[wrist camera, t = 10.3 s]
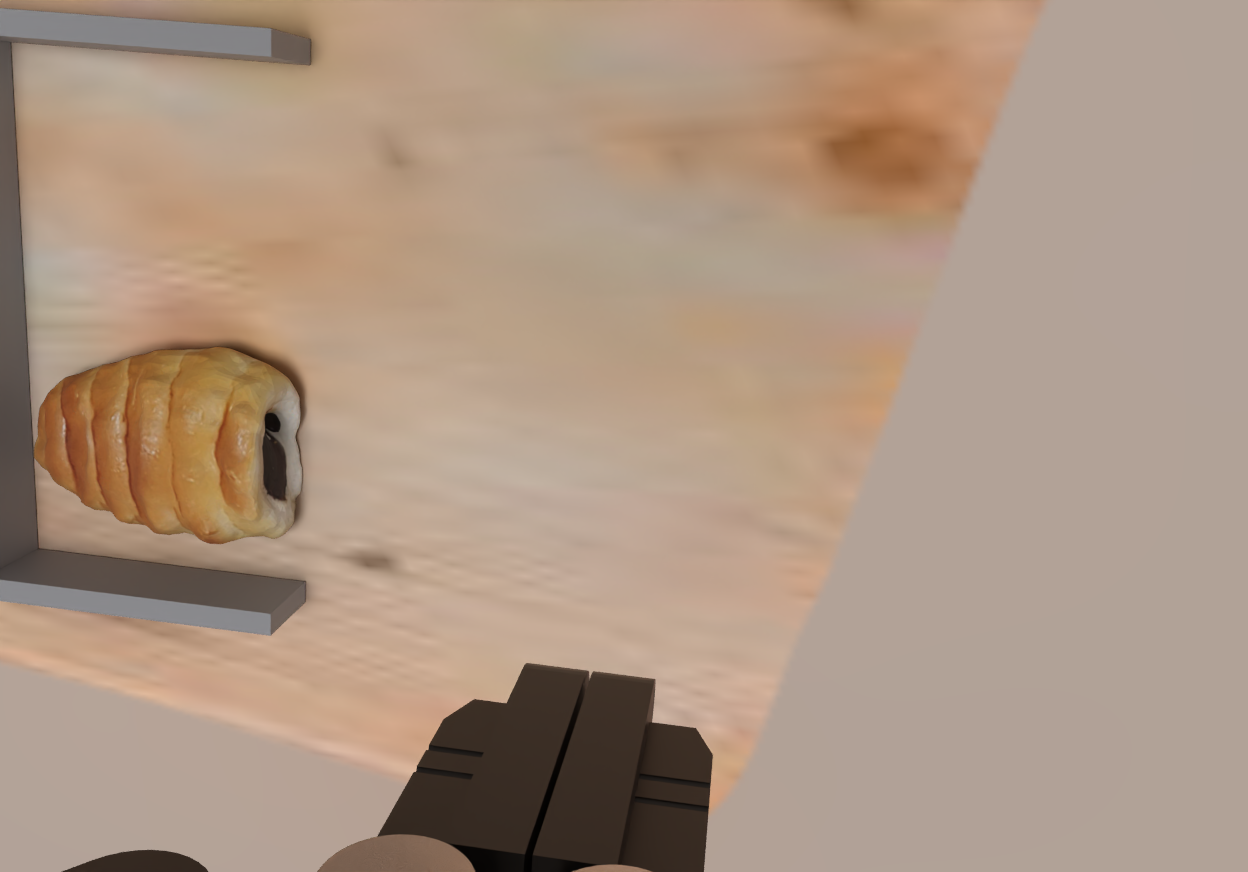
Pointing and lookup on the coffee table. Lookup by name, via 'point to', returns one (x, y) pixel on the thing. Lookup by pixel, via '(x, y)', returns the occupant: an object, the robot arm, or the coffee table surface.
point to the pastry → (178, 443)
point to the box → (3, 453)
